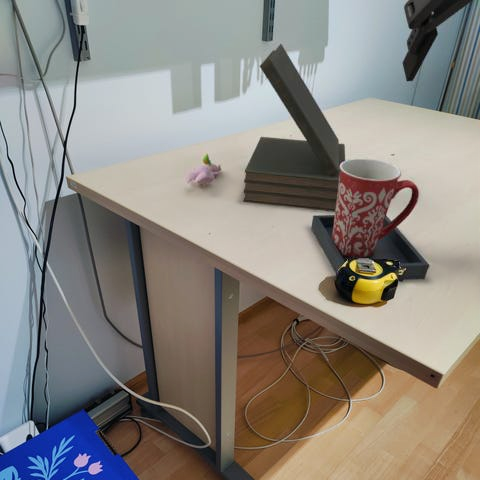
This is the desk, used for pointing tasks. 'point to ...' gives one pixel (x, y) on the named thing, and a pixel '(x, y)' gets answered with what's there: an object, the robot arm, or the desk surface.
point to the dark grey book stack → (295, 148)
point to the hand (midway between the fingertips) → (461, 67)
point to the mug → (367, 205)
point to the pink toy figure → (204, 172)
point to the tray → (386, 248)
